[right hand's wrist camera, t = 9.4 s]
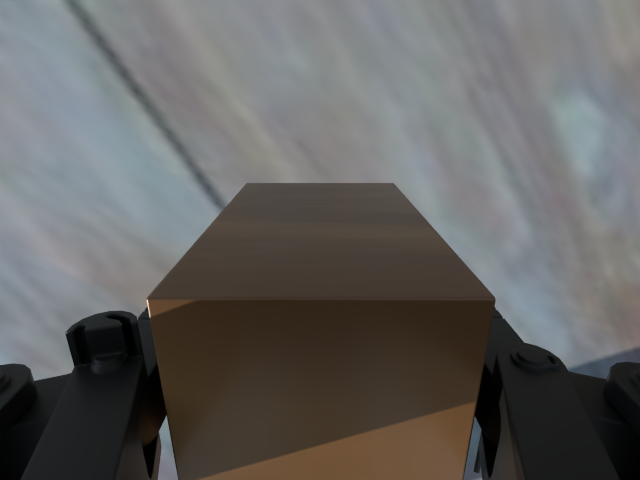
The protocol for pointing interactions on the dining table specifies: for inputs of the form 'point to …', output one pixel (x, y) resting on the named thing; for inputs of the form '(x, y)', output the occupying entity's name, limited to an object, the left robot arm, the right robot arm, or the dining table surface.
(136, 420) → the right robot arm
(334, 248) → the bar
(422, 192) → the dining table surface
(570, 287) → the dining table surface
